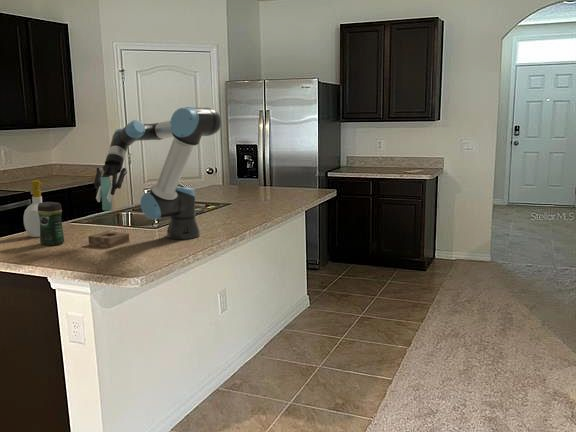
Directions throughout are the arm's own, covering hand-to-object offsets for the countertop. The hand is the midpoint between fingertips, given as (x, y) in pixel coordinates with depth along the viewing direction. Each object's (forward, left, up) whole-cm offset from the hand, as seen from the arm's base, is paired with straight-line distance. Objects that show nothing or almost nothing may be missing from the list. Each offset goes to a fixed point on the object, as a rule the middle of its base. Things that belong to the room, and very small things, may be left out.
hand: (103, 200), depth 240 cm
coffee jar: (+24, +6, -20) cm, 32 cm away
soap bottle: (+42, -4, -20) cm, 47 cm away
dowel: (+1, -4, -5) cm, 6 cm away
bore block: (+1, -4, -20) cm, 20 cm away
